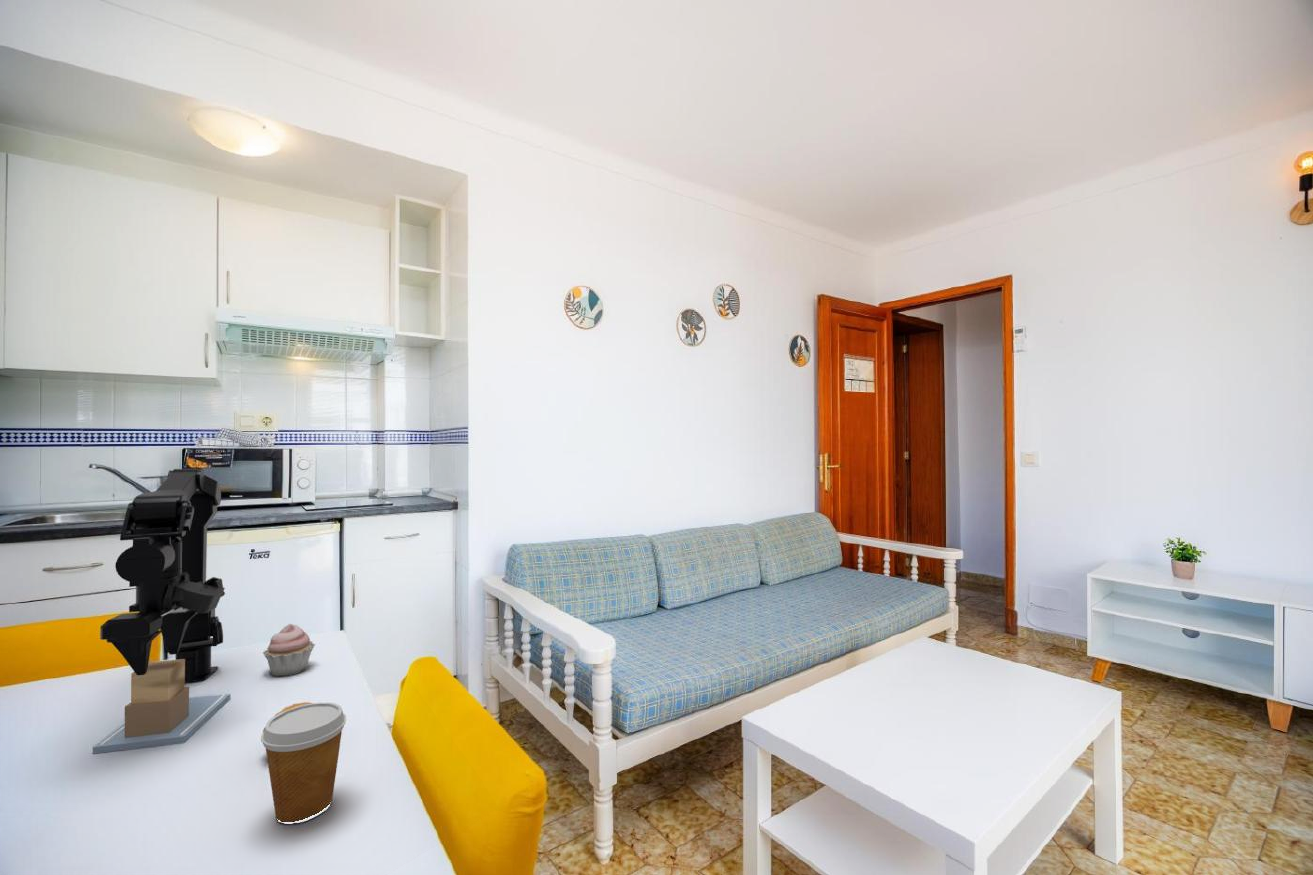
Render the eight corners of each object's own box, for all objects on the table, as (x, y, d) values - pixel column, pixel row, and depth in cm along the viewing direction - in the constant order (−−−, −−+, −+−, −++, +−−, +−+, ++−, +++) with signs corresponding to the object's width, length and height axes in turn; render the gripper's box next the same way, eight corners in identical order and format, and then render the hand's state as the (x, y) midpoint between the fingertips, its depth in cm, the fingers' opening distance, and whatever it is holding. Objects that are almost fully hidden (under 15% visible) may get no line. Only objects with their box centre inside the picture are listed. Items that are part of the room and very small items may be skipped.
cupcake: (259, 683, 112) (259, 633, 113) (265, 667, 121) (265, 620, 121) (313, 674, 117) (314, 626, 117) (316, 659, 125) (316, 614, 125)
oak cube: (149, 691, 95) (149, 661, 95) (184, 688, 97) (184, 658, 97) (131, 704, 90) (131, 673, 90) (168, 700, 92) (168, 670, 92)
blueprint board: (153, 707, 102) (153, 674, 102) (230, 699, 106) (230, 667, 106) (92, 753, 87) (92, 714, 87) (184, 742, 90) (185, 705, 90)
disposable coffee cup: (329, 778, 80) (329, 694, 81) (358, 805, 74) (358, 714, 74) (249, 812, 73) (250, 719, 73) (274, 845, 67) (275, 744, 67)
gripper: (186, 579, 87) (186, 680, 87) (240, 556, 105) (239, 640, 105) (98, 584, 84) (97, 689, 84) (168, 560, 102) (167, 646, 102)
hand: (158, 664), depth 93 cm, fingers open, 9 cm apart
